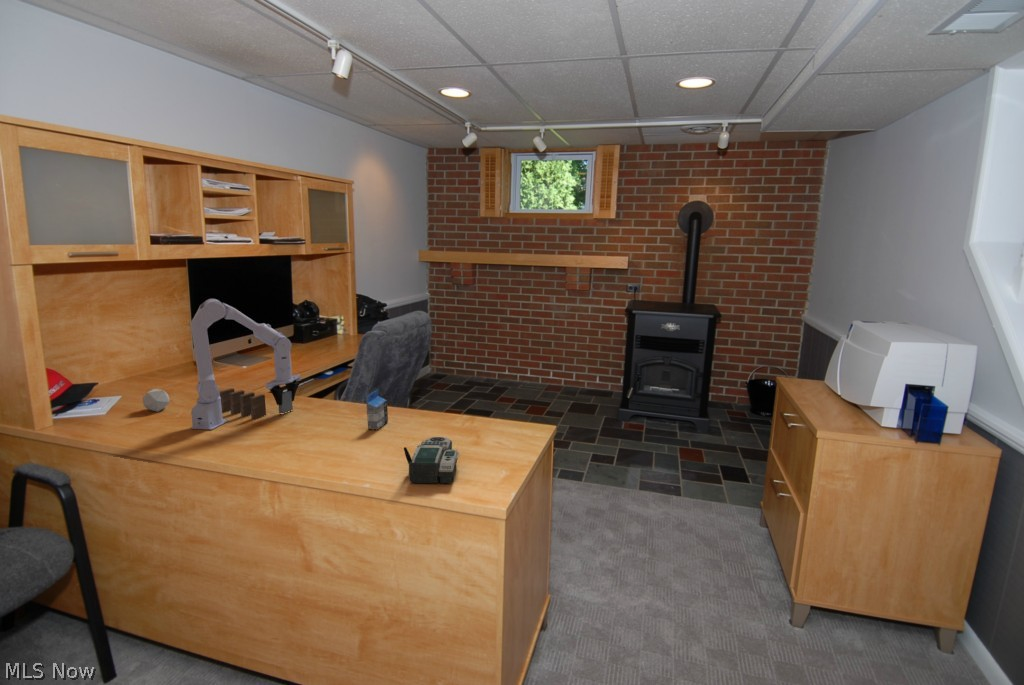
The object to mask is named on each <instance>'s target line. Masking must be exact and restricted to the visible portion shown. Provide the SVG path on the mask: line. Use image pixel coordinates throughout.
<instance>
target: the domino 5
mask: <svg viewBox="0 0 1024 685" xmlns="http://www.w3.org/2000/svg"><path fill="white" fill-rule="evenodd" d="M291 410H293V401H292V391H289V390H288V391H287V390H285V391H283V394H282V405H278V414H279V413H285V412H288V411H291ZM293 411H294V410H293Z"/></svg>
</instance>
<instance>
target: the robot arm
mask: <svg viewBox="0 0 1024 685" xmlns="http://www.w3.org/2000/svg"><path fill="white" fill-rule="evenodd" d="M223 318H224V319H225V320H232V321H233V320H234V321H235V322H237V323H238V324H241V325H242V326H244V327H245V328H248V329H249V330H250V331H252V332H253V337H255V338H257V339H258V340H260V341H261V342H263V343H265V345H267V346H269V347H270V346H271V347H272V348H273V355H274V356H273V358H274V360H273V361H274V374H275V375H274V376H275V377H274V378H275V379H273V380H271V381H269V382H266V383H265V389H268V390H269V391H270V392H271V395H272V396H273V398H274V400H275V402H276V403H275V404H276V405H277V406H279V405H282V394H283V392H284V389H285V388H286V391H288V390H289V391H292V402H294V401H295V397H296V393H297V390H298V388H299V386H300V382H299V381H302V375H301V374H295V375H293V374H292V372H293V371H292V355H291V349H292V346H293V343H292V342H291V340H290V339H289V338H288V337H286V336H285V335H284V334H283V332H281V331H279V332H278V331H277V330H276V329H274V328H272V325H271V324H269V323H267V324H266V323H265V322H263V323H258V322H256V321H255V320H253V319H252V318H250V317H248V316H247V315H245V314H244V313H242V312H241V311H239V310H238V309H237V308H236V307H233V306H232V305H229V304H227V303H225V302H221V301H220V299H216V298H208V299H207V300H205V301H204V302H202V303H201V304H200V305H199V307H198V309H197V311H196V313H195V314H194V317H193V318H192V319H191V321H190V330H191V335H192V336H191V337H192V344H193V350H194V356H195V362H196V368H197V378H198V379H197V380H198V382H197V385H196V391H197V393H198V398H197V399H196V404H195V405H194V406H193V407H192V408H191V410H190V412H191V413H190V414H191V424H192V426H190V429H192V430H193V429H194V430H209V431H211V430H214V429H217V428H218V427H220V426H222V425H223V424H225V423H227V422H229V419H225V418H223V412H222V407H221V397H220V391H221V390H220V388H219V387H218V384H217V383H216V379H215V374H214V368H213V362H212V355H211V349H210V348H211V346H210V342H209V334H208V329H209V327H210V326H211V325H213V324H214V323H216V322H218V321H219V320H221V319H223ZM282 385H283V386H284V385H285V387H281V386H282Z"/></svg>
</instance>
